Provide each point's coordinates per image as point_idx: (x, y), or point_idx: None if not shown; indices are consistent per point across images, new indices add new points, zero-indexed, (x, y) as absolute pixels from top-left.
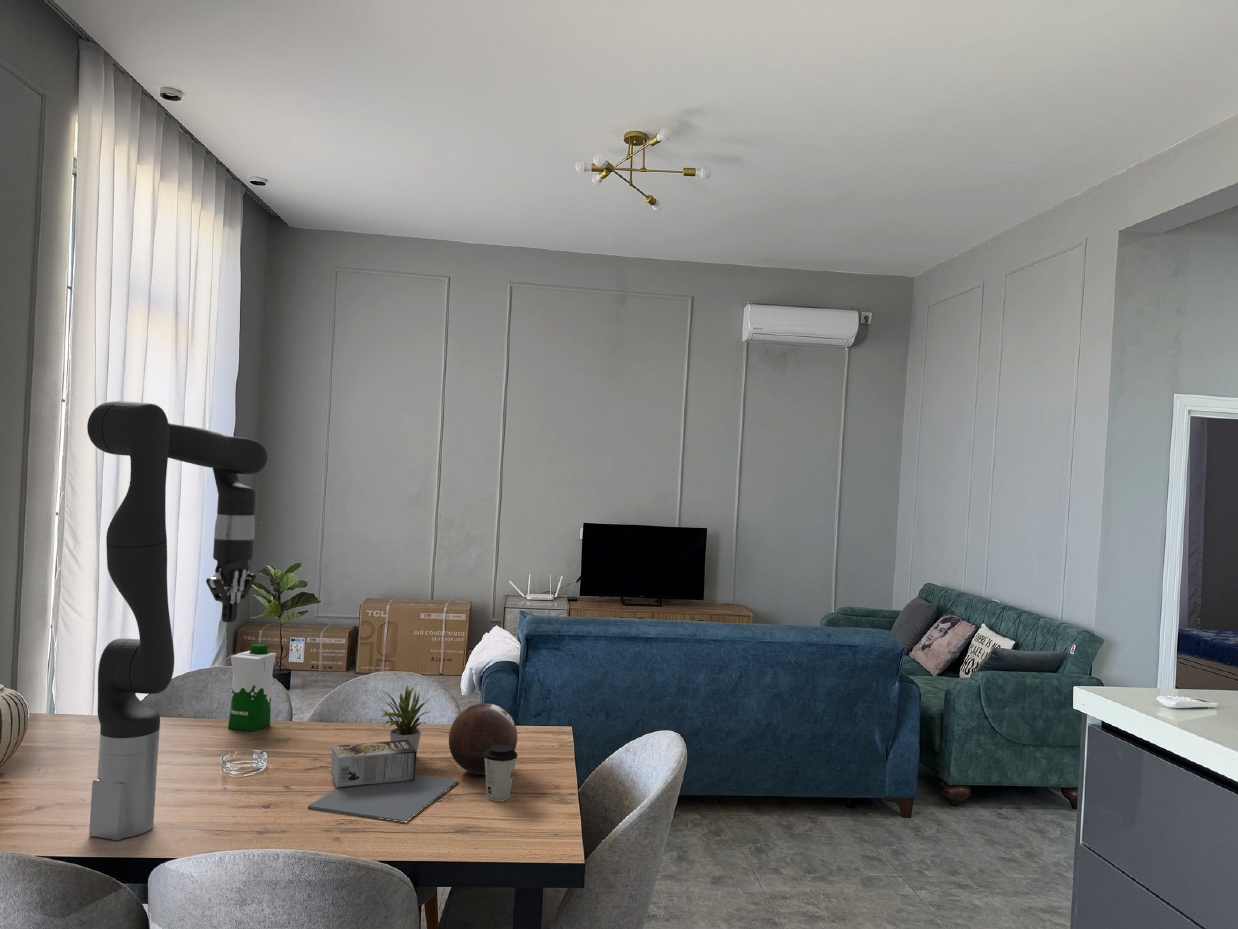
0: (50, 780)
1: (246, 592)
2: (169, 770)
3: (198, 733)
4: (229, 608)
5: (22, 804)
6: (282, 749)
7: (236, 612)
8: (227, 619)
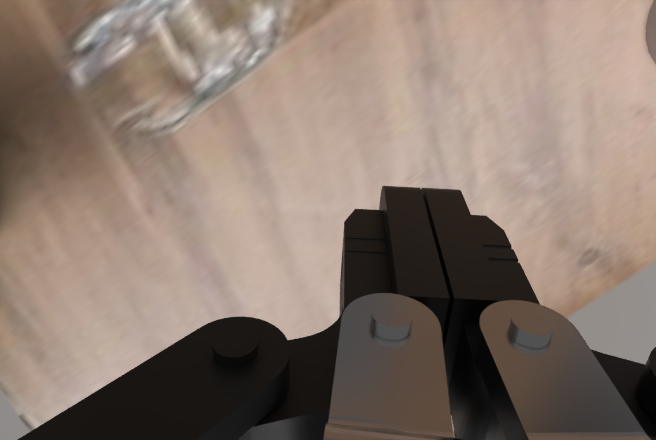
0: None
1: (148, 396)
2: (312, 178)
3: (57, 281)
4: (510, 290)
5: (575, 293)
6: (30, 9)
7: (390, 227)
8: (488, 225)
